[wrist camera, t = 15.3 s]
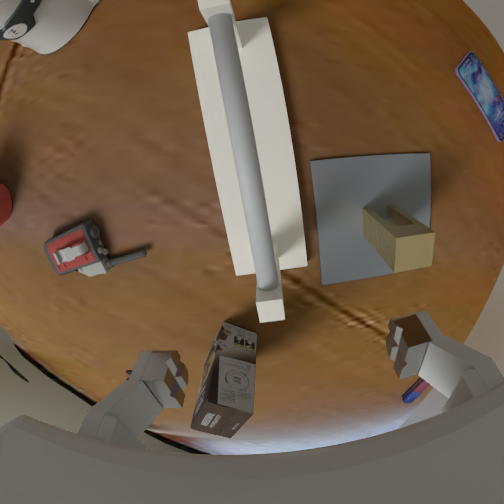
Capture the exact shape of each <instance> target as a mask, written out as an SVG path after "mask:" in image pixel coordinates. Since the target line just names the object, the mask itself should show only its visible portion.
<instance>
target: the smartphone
mask: <svg viewBox="0 0 504 504" xmlns="http://www.w3.org/2000/svg"><path fill="white" fill-rule="evenodd" d="M455 72H456V75H457V76H458V78H459V79H460V80H461V82H462V83H463V85H464V86H465V88H466V89H467V90H468V92H469V93H470V95H471V96H472V98H473V99H474V101H475V103H476V104H477V106H478V107H479V109H480V111H481V112H482V114H483V116H484V117H485V119H486V121H487V123H488V124H489V126H490V128H491V130H492V132H493V133H494V135H495V137H496V139H497V140H498V141H500V142H502V141H503V140H504V99H503V97H502V95H501V94H500V92H499V90H498V89H497V87H496V85H495V84H494V82H493V80H492V79H491V77H490V76H489V74H488V72H487V71H486V69H485V68H484V66H483V65H482V63H481V62H480V61H479V59H478V58H477V56H476V55H475V54H474V53H473V52H468V53H467V54H466V55H465V57H464V58H463V59H462V60H461V62H460V63H459V64H458V65H457V67H456V68H455Z"/></svg>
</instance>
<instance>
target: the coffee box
mask: <svg viewBox="0 0 504 504" xmlns="http://www.w3.org/2000/svg"><path fill="white" fill-rule="evenodd" d="M256 346H257V334H256V333H254V332H251V331H248V330H245V329H243V328H240V327H237V326H234V325H232V324H229V323H226V322H223V323H222V324H221V326H220V328H219V330H218V333H217V335H216V337H215V339H214V341H213V343H212V345H211V347H210V349H209V351H208V353H207V355H206V360H205V364H204V368H203V373H202V377H201V382H200V387H199V391H198V396H197V400H196V405H195V410H194V414H193V419H192V424H191V428H192V429H195V430H198V431H202V432H205V433H210V434H214V435H219V436H223V437H227V438H231V437H232V436H233V435H234V434H235V433H236V432H237V431H238V430H239V429H240V428H241V427H242V425H243V424H244V423H245V422H246V421H247V420H248V419H249V418H250V417H251V416H252V414H253V405H254V387H255V369H256Z"/></svg>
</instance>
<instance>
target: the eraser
mask: <svg viewBox="0 0 504 504" xmlns="http://www.w3.org/2000/svg"><path fill="white" fill-rule="evenodd" d="M429 385H430V384H429V383H428V382H426V381H425V380H424V379H422V378H421V377H420V378H419V379H418V380H417V381H416V382H415V383H414V384H413V385H412V386H411V387H410V388H409V389H408V390H407V391H406V392H405V393H404V394H403V395H402V397H403V402H404V403H411V402H413V401H414V400H415V399H416V398H417V397H418V396H419V395H420V394H421V393H422V392H423V391H424V390H425V389H426V388H427V387H428V386H429Z"/></svg>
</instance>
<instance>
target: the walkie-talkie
mask: <svg viewBox="0 0 504 504" xmlns="http://www.w3.org/2000/svg"><path fill="white" fill-rule="evenodd" d="M44 251H45V253H46V255H47V257H48V259H49V261H50V263H51V265H52V268H53V270H54V271H55V272H56V273H57V274H59V275H63V274H66V273H69V272H72V271H79V273H83V274H85V275H87V276H89V277H90V276H94V275H97V274H101V273H103V274H104V273H107V272H108V271H109V270H110V269H111V268H112V267H113V266H114V265H117V264H121V263H124V262H128V261H131V260H134V259H138V258H141V257H145V256H146V255H147V252H146V250H140V251H137V252H134V253H131V254H127V255H124V256H121V257H117V258H114V259H108V258H107V256H106V255H107V254H108V249H105V248H104V246H103V243H102V241H101V239H100V229H99V227H98V226H96V225H94V222H93V220H88V221H84V222H82V223H80V224H79V225H75V226H73V227H72V228H70V229H69V230H66V231H64V232H62V233H60V234H58V235H56V236H54V237H52V238H51V239H49V240H48V241H46V242H45V244H44Z"/></svg>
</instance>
